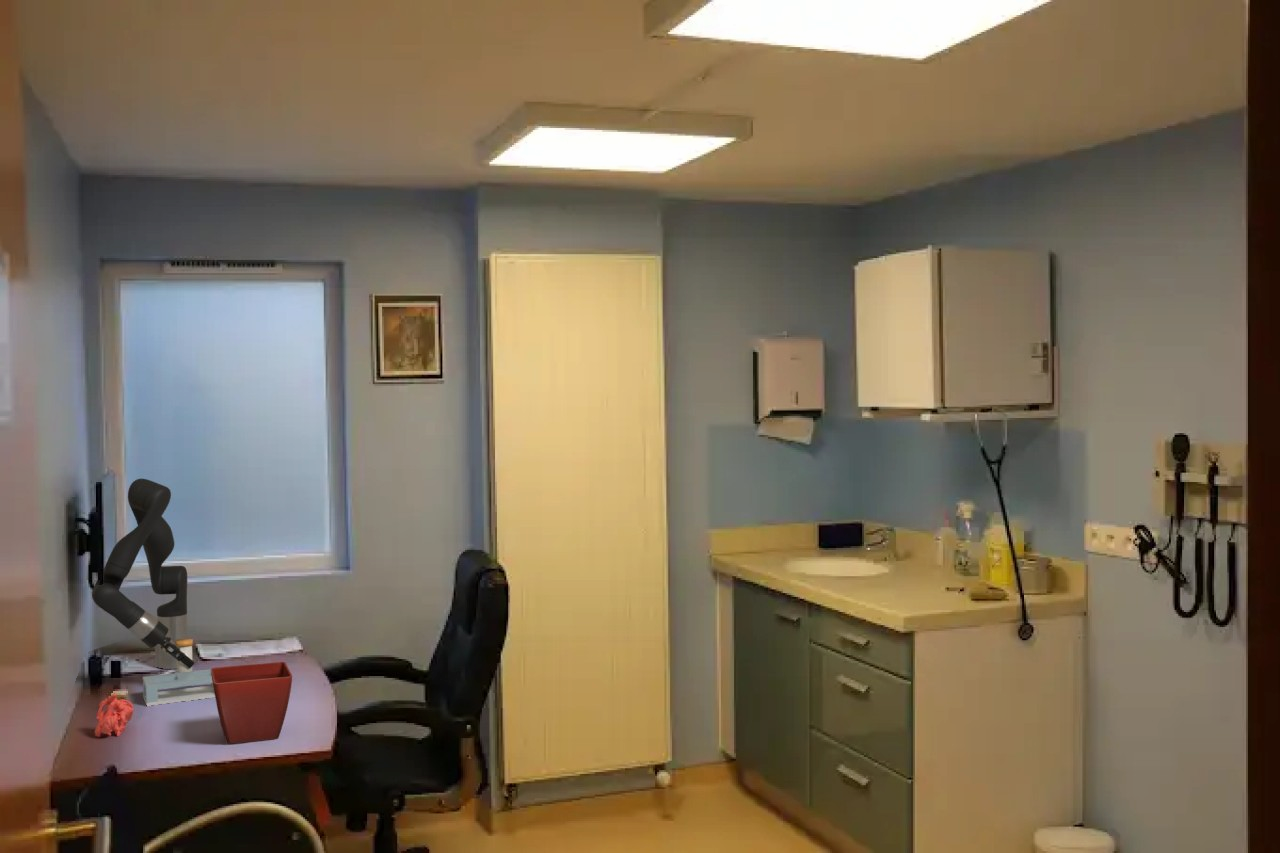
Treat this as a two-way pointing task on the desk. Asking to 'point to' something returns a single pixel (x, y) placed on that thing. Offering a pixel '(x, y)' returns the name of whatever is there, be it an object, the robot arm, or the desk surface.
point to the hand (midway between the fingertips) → (191, 663)
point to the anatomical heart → (113, 716)
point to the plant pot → (252, 700)
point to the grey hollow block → (177, 680)
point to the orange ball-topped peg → (187, 649)
